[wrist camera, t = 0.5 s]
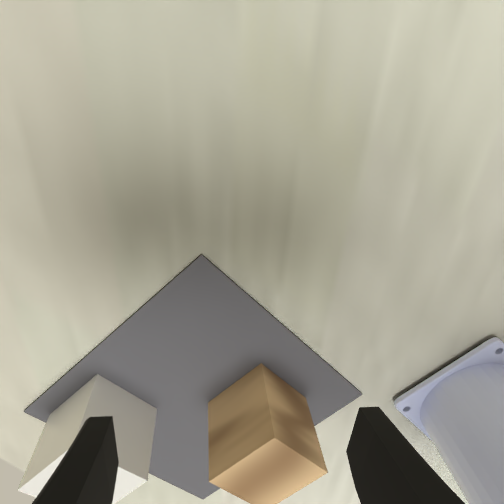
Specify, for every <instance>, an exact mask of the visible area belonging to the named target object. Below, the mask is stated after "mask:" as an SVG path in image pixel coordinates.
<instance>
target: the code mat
mask: <svg viewBox="0 0 504 504" xmlns="http://www.w3.org/2000/svg"><path fill="white" fill-rule="evenodd" d="M259 364H263V365H264V366H265V367H267V368H268V369H269V370H271V371H272V372H273V373H274V374H276V375H277V376H278V377H280V378H281V379H282V380H284V381H285V382H286V383H287V384H289V385H290V386H291V387H293V388H294V389H295V390H297V391H298V392H299V393H300V394H302V395H303V396H304V397H306V400H307V403H308V407H309V410H310V414H311V417H312V420H313V424H314V426H315V425H317V424H318V423H320V422H321V421H323V420H324V419H326V418H327V417H329V416H330V415H332V414H334V413H335V412H337V411H338V410H340V409H341V408H343V407H344V406H346V405H347V404H349V403H350V402H352V401H353V400H355V399H356V398H358V397H359V396H361V395H362V393H361V392H360V391H359V390H358V389H356V388H355V387H354V386H353V385H352V384H351V383H349V382H348V381H347V380H346V379H345V378H344V377H342V376H341V375H340V374H339V373H338V372H337V371H336V370H334V369H333V368H332V367H331V366H330V365H329V364H327V363H326V362H325V361H324V360H323V359H322V358H321V357H319V356H318V355H317V354H316V353H315V352H314V351H312V350H311V349H310V348H309V347H308V346H307V345H306V344H304V343H303V342H302V341H301V340H300V339H299V338H297V337H296V336H295V335H294V334H293V333H292V332H291V331H289V330H288V329H287V328H286V327H285V326H284V325H282V324H281V323H280V322H279V321H278V320H277V319H276V318H274V317H273V316H272V315H271V314H270V313H269V312H267V311H266V310H265V309H264V308H263V307H262V306H261V305H259V304H258V303H257V302H256V301H255V300H254V299H252V298H251V297H250V296H249V295H248V294H247V293H246V292H244V291H243V290H242V289H241V288H240V287H239V286H237V285H236V284H235V283H234V282H233V281H232V280H231V279H229V278H228V277H227V276H226V275H225V274H224V273H222V272H221V271H220V270H219V269H218V268H217V267H215V266H214V265H213V264H212V263H211V262H210V261H209V260H207V259H206V258H205V257H204V256H203V255H202V254H201V255H200V256H199V257H198V258H197V259H196V260H195V261H193V262H192V263H191V264H190V265H189V266H188V267H187V268H185V269H184V270H183V271H182V272H181V273H180V274H179V275H177V276H176V277H175V278H174V279H173V280H172V281H171V282H170V283H168V284H167V285H166V286H165V287H164V288H163V289H162V290H160V291H159V292H158V293H157V294H156V295H155V296H154V297H152V298H151V299H150V300H149V301H148V302H147V303H146V304H145V305H143V306H142V307H141V308H140V309H139V310H138V311H137V312H135V313H134V314H133V315H132V316H131V317H130V318H129V319H127V320H126V321H125V322H124V323H123V324H122V325H121V326H120V327H118V328H117V329H116V330H115V331H114V332H113V333H112V334H110V335H109V336H108V337H107V338H106V339H105V340H104V341H103V342H101V343H100V344H99V345H98V346H97V347H96V348H95V349H93V350H92V351H91V352H90V353H89V354H88V355H87V356H85V357H84V358H83V359H82V360H81V361H80V362H79V363H78V364H76V365H75V366H74V367H73V368H72V369H71V370H70V371H68V372H67V373H66V374H65V375H64V376H63V377H62V378H60V379H59V380H58V381H57V382H56V383H55V384H54V385H53V386H51V387H50V388H49V389H48V390H47V391H46V392H45V393H43V394H42V395H41V396H40V397H39V398H38V399H37V400H35V401H34V402H33V403H32V404H31V405H30V406H29V407H28V408H26V409H25V410H24V412H25V413H27V414H29V415H31V416H33V417H35V418H37V419H39V420H41V421H43V422H45V423H46V422H47V420H48V417H49V415H50V414H51V413H52V412H53V411H54V410H56V409H57V408H58V407H59V406H60V405H61V404H63V403H64V402H65V401H66V400H67V399H69V398H70V397H71V396H72V395H73V394H74V393H76V392H77V391H78V390H79V389H80V388H81V387H83V386H84V385H85V384H86V383H87V382H88V381H90V380H91V379H92V378H93V377H94V376H95V375H97V374H98V375H100V376H102V377H104V378H105V379H107V380H109V381H110V382H112V383H114V384H115V385H117V386H119V387H121V388H122V389H124V390H126V391H127V392H129V393H131V394H132V395H134V396H136V397H138V398H139V399H141V400H143V401H144V402H146V403H148V404H150V405H151V406H153V407H155V408H156V409H157V413H156V420H155V428H154V435H153V443H152V450H151V458H150V465H149V473H150V474H152V475H154V476H156V477H158V478H160V479H162V480H164V481H166V482H168V483H170V484H172V485H174V486H176V487H178V488H181V489H183V490H185V491H187V492H189V493H191V494H193V495H195V496H197V497H199V498H201V499H205V498H206V497H208V496H209V495H211V494H212V493H214V492H215V491H217V490H218V489H220V487H218V486H216V485H214V484H212V483H210V482H209V450H208V402H210V401H211V400H212V399H214V398H215V397H216V396H218V395H219V394H220V393H222V392H223V391H224V390H226V389H227V388H228V387H230V386H231V385H232V384H234V383H235V382H236V381H238V380H239V379H241V378H242V377H243V376H245V375H246V374H247V373H249V372H250V371H251V370H253V369H254V368H255V367H257V366H258V365H259Z"/></svg>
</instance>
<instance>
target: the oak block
mask: <svg viewBox="0 0 504 504" xmlns="http://www.w3.org/2000/svg"><path fill="white" fill-rule="evenodd" d="M208 450H209V482H210V483H212V484H214V485H216V486H218V487H220V488H222V489H224V490H226V491H227V492H229V493H231V494H233V495H235V496H237V497H239V498H241V499H243V500H245V501H247V502H249V503H250V504H277V503H279V502H281V501H282V500H284V499H286V498H287V497H289V496H290V495H292V494H294V493H295V492H297V491H299V490H300V489H302V488H304V487H305V486H307V485H308V484H310V483H312V482H313V481H315V480H317V479H318V478H320V477H321V476H323V475H325V474H326V473H328V472H327V468H326V465H325V461H324V458H323V455H322V451H321V448H320V444H319V441H318V438H317V434H316V431H315V427H314V424H313V420H312V417H311V414H310V410H309V407H308V403H307V400H306V397H304V396H303V395H302V394H300V393H299V392H298V391H297V390H295V389H294V388H293V387H291V386H290V385H289V384H287V383H286V382H285V381H284V380H282V379H281V378H280V377H278V376H277V375H276V374H274V373H273V372H272V371H271V370H269V369H268V368H267V367H265V366H264V365H263V364H259V365H258V366H257V367H255V368H254V369H253V370H251V371H250V372H249V373H247V374H246V375H245V376H243V377H242V378H241V379H239V380H238V381H236V382H235V383H234V384H232V385H231V386H230V387H228V388H227V389H226V390H224V391H223V392H222V393H220V394H219V395H218V396H216V397H215V398H214V399H212V400H211V401H210V402H208Z"/></svg>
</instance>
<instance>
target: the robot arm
mask: <svg viewBox="0 0 504 504" xmlns="http://www.w3.org/2000/svg"><path fill="white" fill-rule="evenodd" d="M394 405H395V407H396V409H397V410H398V411H399V412H400V413H402V414H403V415H404V416H405V417H406V418H407V419H408V420H409V421H411V422H412V423H413V424H414V425H415V426H416V427H417V428H418V429H419V430H421V431H422V432H423V433H424V434H425V435H426V436H427V437H428V438H429V439H431V440H432V441H433V443H434V445H435V446H436V448H437V450H438V451H439V453H440V455H441V457H442V458H443V460H444V462H445V463H446V465H447V467H448V469H449V470H450V472H451V474H452V475H453V477H454V479H455V481H456V482H457V484H458V486H459V487H460V489H461V491H462V492H463V494H464V496H465V498H466V499H467V501H468V503H469V504H504V343H503V342H502V341H501V340H500V339H499V338H497V337H494V338H490V339H489V340H487V341H485V342H484V343H482V344H481V345H479V346H478V347H476V348H474V349H473V350H471V351H470V352H468V353H467V354H465V355H464V356H462V357H460V358H459V359H457V360H456V361H454V362H453V363H451V364H449V365H448V366H446V367H445V368H443V369H442V370H440V371H438V372H437V373H435V374H434V375H432V376H431V377H429V378H428V379H426V380H424V381H423V382H421V383H420V384H418V385H417V386H415V387H413V388H412V389H410V390H409V391H407V392H406V393H404V394H402V395H401V396H399V397H398V398H396V399H395V401H394ZM346 452H347V456H348V460H349V464H350V469H351V473H352V477H353V480H354V484H355V488H356V491H357V494H358V497H359V499H360V502H361V504H465V503H464V502H463V501H462V500H461V499H460V498H459V497H458V496H457V495H456V494H455V493H454V492H453V491H452V490H451V489H450V488H449V486H448V485H447V484H446V483H445V482H444V481H443V480H442V479H441V478H440V477H439V476H438V475H437V473H436V472H435V471H434V470H433V469H432V468H431V467H430V466H429V465H428V464H427V462H426V461H425V460H424V459H423V458H422V457H421V456H420V455H419V453H418V452H417V451H416V450H415V449H414V448H413V446H412V445H411V444H410V443H409V442H408V441H407V439H406V438H405V437H404V436H403V435H402V434H401V432H400V431H399V430H398V429H397V428H396V427H395V425H394V424H393V423H392V422H391V421H390V419H389V418H388V417H387V416H386V415H385V414H384V412H383V411H382V410H381V409H380V408H379V407H360V408H359V411H358V414H357V417H356V421H355V424H354V427H353V431H352V434H351V437H350V441H349V444H348V447H347V451H346ZM118 465H119V460H118V453H117V445H116V438H115V431H114V423H113V416H100V417H89V418H88V419H86V421H85V422H84V424H83V426H82V428H81V429H80V431H79V433H78V434H77V436H76V438H75V440H74V441H73V443H72V444H71V446H70V448H69V449H68V451H67V452H66V454H65V456H64V457H63V459H62V460H61V462H60V463H59V465H58V466H57V468H56V469H55V471H54V472H53V474H52V475H51V477H50V478H49V480H48V481H47V483H46V484H45V486H44V487H43V488H42V490H41V491H40V493H39V494H38V496H37V497H36V499H35V500H34V501H33V503H32V504H112V501H113V495H114V490H115V484H116V477H117V471H118Z"/></svg>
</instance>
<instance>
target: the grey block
mask: <svg viewBox="0 0 504 504" xmlns="http://www.w3.org/2000/svg"><path fill="white" fill-rule="evenodd" d="M156 413H157V409H156V408H155V407H153V406H151V405H150V404H148V403H146V402H144V401H143V400H141V399H139V398H138V397H136V396H134V395H132V394H131V393H129V392H127V391H126V390H124V389H122V388H121V387H119V386H117V385H115V384H114V383H112V382H110V381H109V380H107V379H105V378H104V377H102V376H100V375H98V374H97V375H95V376H94V377H93V378H92V379H91V380H90V381H88V382H87V383H86V384H85V385H84V386H83V387H81V388H80V389H79V390H78V391H77V392H76V393H74V394H73V395H72V396H71V397H70V398H69V399H67V400H66V401H65V402H64V403H63V404H61V405H60V406H59V407H58V408H57V409H56V410H54V411H53V412H52V413H51V414H50V415H49V417H48V420H47V422H46V424H45V427H44V429H43V431H42V434H41V436H40V438H39V441H38V443H37V446H36V448H35V450H34V453H33V455H32V457H31V460H30V462H29V464H28V467H27V469H26V471H25V474H24V476H23V478H22V481H21V483H20V486H19V488H18V491H20V492H23V493H25V494H28V495H30V496H33V497H35V498H36V497H37V496H38V494H39V493H40V491H41V490H42V488H43V487H44V486H45V484H46V483H47V481H48V480H49V478H50V477H51V475H52V474H53V472H54V471H55V469H56V468H57V466H58V465H59V463H60V462H61V460H62V459H63V457H64V456H65V454H66V452H67V451H68V449H69V448H70V446H71V444H72V443H73V441H74V440H75V438H76V436H77V434H78V433H79V431H80V429H81V428H82V426H83V424H84V422H85V421H86V419H88V418H89V417H100V416H113V423H114V431H115V438H116V445H117V453H118V460H119V465H118V471H117V477H116V484H115V490H114V495H113V501H112V504H115V503H117V502H118V501H120V500H121V499H122V498H124V497H125V496H127V495H128V494H129V493H131V492H132V491H134V490H135V489H136V488H138V487H139V486H141V485H142V484H143V483H145V482H146V481H148V473H149V465H150V458H151V450H152V443H153V435H154V428H155V420H156Z"/></svg>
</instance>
